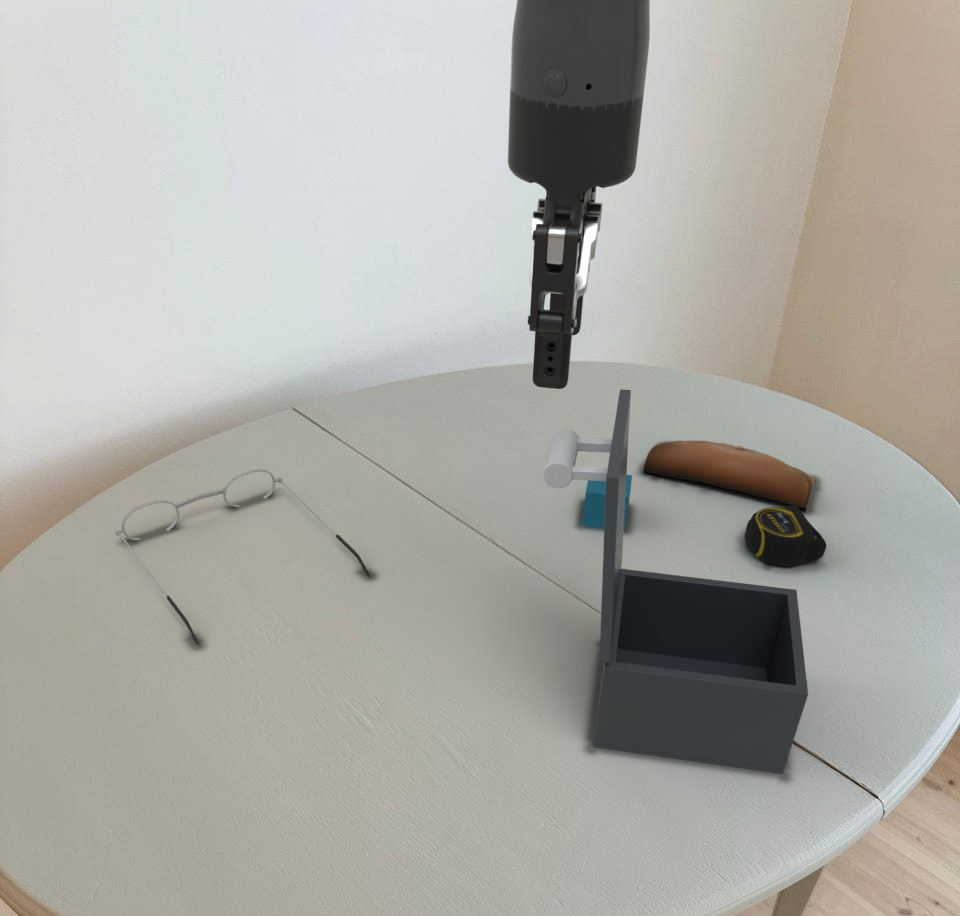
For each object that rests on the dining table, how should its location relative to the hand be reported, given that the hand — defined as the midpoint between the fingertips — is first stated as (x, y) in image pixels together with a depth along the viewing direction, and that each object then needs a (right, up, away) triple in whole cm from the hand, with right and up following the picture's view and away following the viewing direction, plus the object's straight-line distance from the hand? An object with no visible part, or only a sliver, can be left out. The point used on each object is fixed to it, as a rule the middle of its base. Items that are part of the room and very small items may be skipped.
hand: (557, 357), depth 66 cm
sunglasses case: (+23, -1, +44) cm, 50 cm away
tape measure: (+25, -10, +34) cm, 43 cm away
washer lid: (+5, -11, +6) cm, 13 cm away
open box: (+12, -24, +16) cm, 32 cm away
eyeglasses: (-28, -11, +30) cm, 43 cm away
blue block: (+8, -6, +37) cm, 39 cm away
